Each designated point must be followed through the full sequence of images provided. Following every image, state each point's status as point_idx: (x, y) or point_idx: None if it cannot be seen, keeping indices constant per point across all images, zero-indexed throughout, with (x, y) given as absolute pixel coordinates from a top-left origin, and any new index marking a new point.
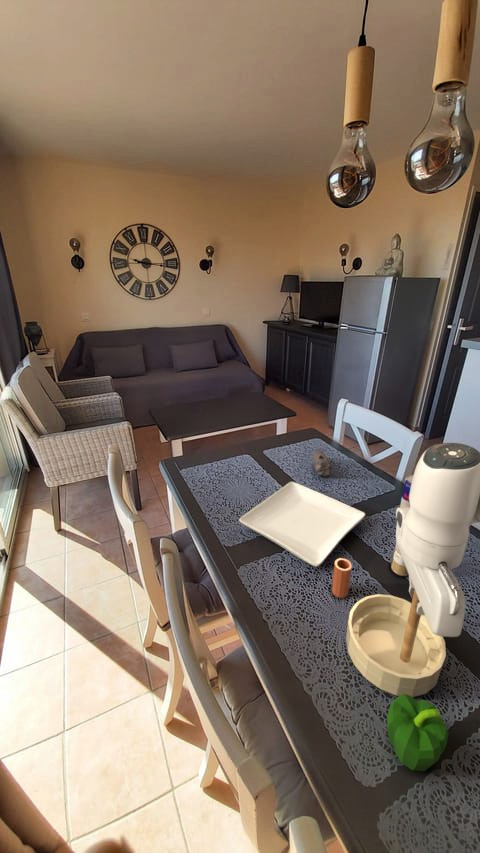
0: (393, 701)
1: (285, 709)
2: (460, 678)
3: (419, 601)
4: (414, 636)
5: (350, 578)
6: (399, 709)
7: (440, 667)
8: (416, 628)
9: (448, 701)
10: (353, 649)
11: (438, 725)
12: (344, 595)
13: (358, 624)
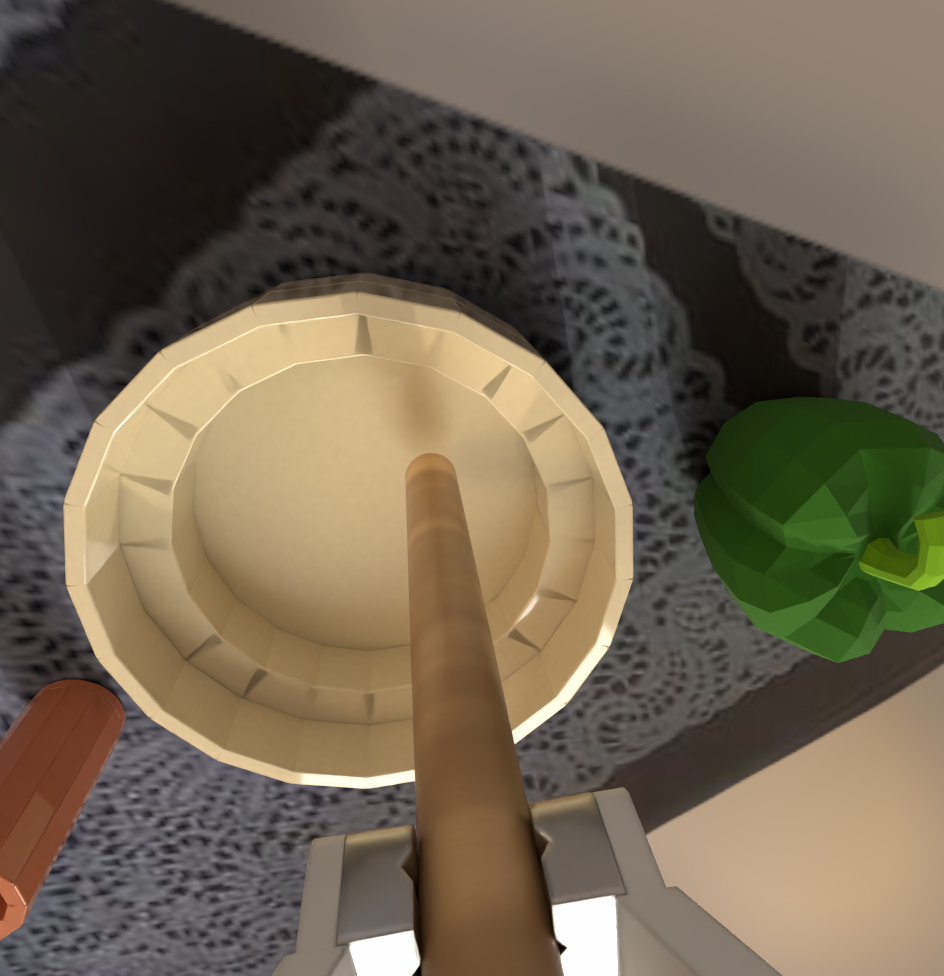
0: (770, 631)
1: (668, 821)
2: (429, 168)
3: (572, 962)
4: (475, 570)
5: (15, 770)
6: (839, 635)
7: (547, 365)
8: (483, 616)
9: (564, 271)
10: None
11: (925, 488)
12: (109, 708)
13: (318, 693)
